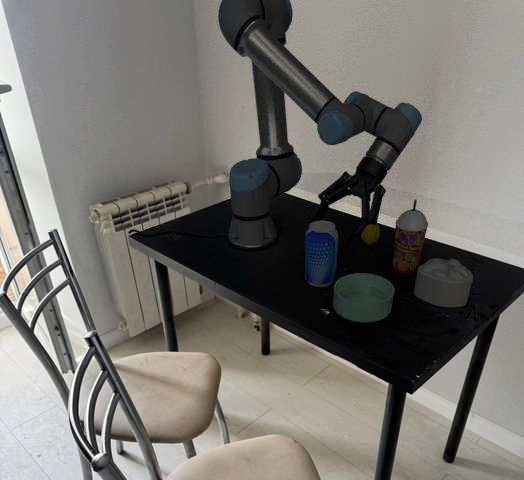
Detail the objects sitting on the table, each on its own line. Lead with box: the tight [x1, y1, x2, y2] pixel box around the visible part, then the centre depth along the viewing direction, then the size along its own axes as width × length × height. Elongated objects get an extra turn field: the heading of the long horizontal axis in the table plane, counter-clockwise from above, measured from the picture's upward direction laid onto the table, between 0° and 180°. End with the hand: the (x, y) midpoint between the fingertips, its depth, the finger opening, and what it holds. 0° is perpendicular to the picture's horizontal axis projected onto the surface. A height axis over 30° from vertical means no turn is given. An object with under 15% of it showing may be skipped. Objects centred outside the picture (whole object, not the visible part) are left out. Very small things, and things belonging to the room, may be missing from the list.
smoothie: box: [392, 199, 429, 275], centre depth 134 cm, size 8×8×20 cm
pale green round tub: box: [332, 272, 396, 323], centre depth 125 cm, size 15×15×6 cm
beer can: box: [304, 220, 339, 288], centre depth 132 cm, size 8×8×16 cm
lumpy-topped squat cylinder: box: [413, 257, 474, 308], centre depth 127 cm, size 10×13×9 cm
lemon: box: [360, 223, 381, 246], centre depth 150 cm, size 6×6×8 cm
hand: (328, 234), depth 131 cm, fingers open, 13 cm apart
